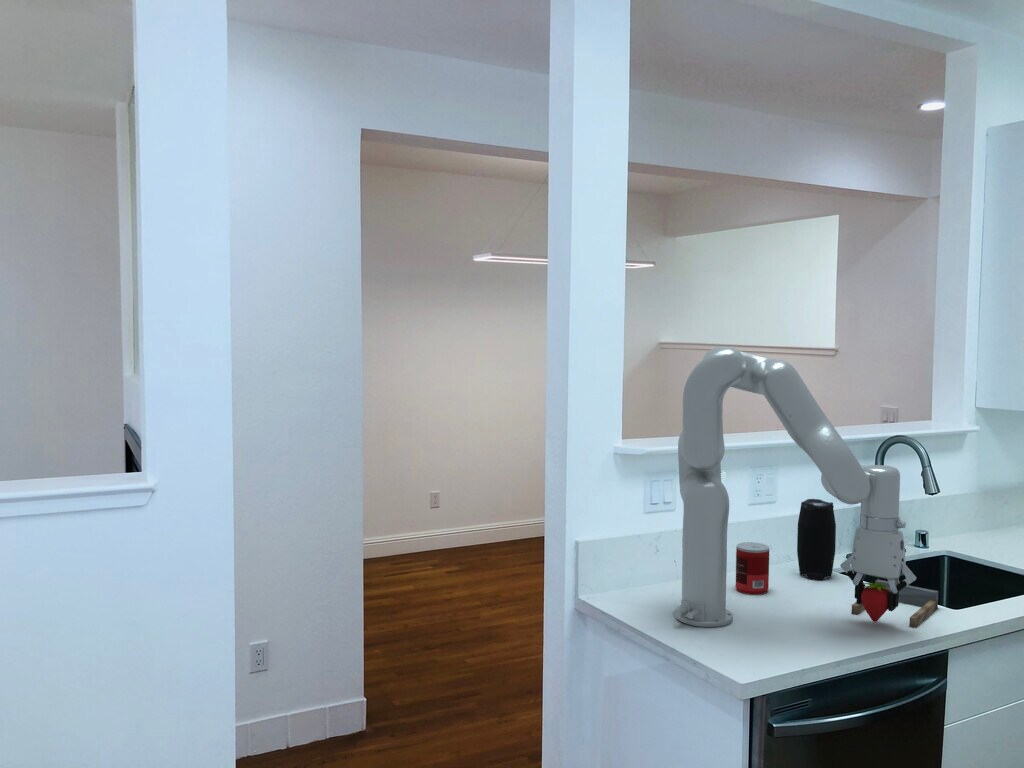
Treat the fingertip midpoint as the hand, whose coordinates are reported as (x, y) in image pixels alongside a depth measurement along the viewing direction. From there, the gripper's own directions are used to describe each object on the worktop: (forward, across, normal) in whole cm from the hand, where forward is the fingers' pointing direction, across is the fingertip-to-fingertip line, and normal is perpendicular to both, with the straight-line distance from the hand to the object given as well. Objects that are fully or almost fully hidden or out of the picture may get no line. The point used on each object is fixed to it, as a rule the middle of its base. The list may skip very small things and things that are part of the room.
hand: (876, 605), depth 178 cm
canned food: (+5, +31, -5) cm, 32 cm away
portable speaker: (+5, +24, -27) cm, 36 cm away
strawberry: (+4, 0, 0) cm, 4 cm away
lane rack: (+4, 0, -12) cm, 13 cm away
